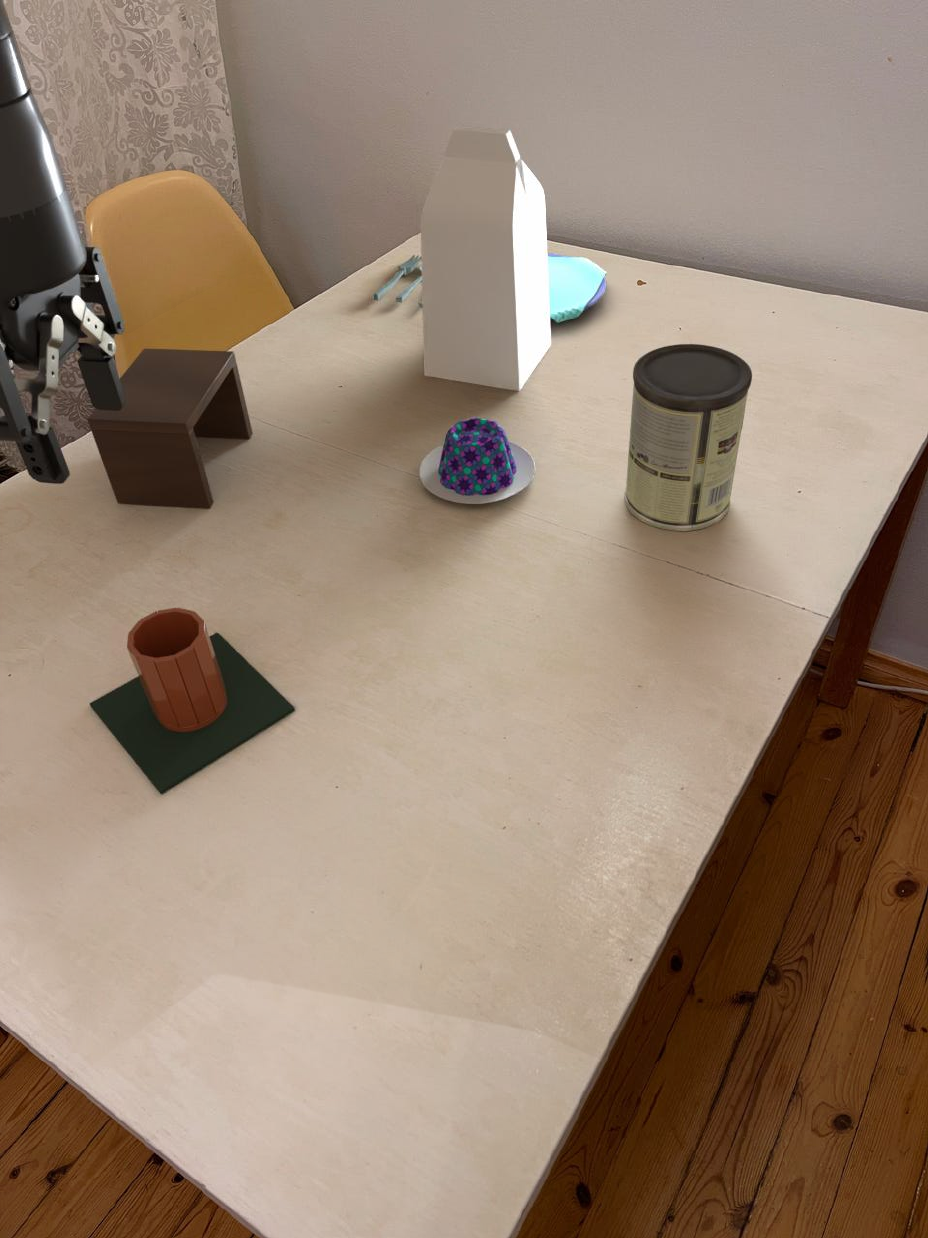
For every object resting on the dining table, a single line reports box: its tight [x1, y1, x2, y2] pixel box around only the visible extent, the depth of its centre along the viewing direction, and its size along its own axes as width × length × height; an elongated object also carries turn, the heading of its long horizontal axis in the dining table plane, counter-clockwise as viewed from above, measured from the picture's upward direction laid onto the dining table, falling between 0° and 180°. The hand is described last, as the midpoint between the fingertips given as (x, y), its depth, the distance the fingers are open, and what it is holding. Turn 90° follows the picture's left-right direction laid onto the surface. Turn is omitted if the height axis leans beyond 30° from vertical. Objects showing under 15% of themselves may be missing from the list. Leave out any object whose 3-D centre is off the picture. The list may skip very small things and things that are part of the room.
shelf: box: [86, 347, 254, 510], centre depth 100 cm, size 14×10×10 cm
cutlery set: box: [372, 252, 608, 323], centre depth 129 cm, size 20×30×2 cm, turn 69°
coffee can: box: [624, 343, 753, 532], centre depth 90 cm, size 10×10×14 cm
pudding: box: [418, 417, 537, 505], centre depth 98 cm, size 12×12×5 cm
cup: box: [126, 607, 227, 732], centre depth 75 cm, size 6×6×8 cm
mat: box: [89, 631, 296, 795], centre depth 78 cm, size 12×12×1 cm
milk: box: [420, 125, 552, 392], centre depth 108 cm, size 12×12×26 cm
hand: (83, 442), depth 64 cm, fingers open, 8 cm apart
